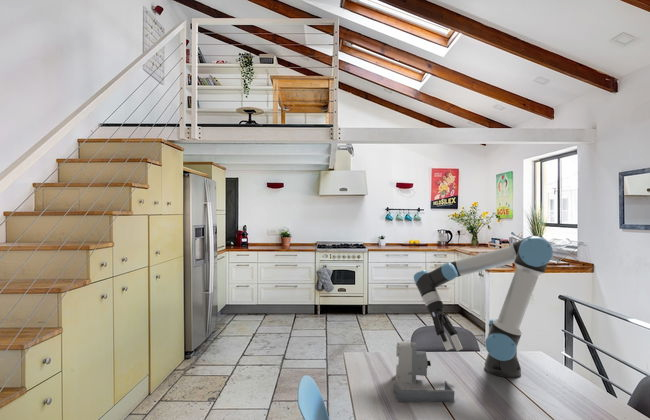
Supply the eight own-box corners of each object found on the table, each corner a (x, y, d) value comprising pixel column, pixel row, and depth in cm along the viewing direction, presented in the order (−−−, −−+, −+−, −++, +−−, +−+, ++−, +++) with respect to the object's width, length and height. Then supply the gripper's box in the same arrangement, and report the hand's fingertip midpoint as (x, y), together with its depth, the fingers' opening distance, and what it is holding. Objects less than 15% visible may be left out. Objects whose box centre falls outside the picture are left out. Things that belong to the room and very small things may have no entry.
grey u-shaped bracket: (446, 390, 151) (446, 380, 151) (454, 402, 142) (454, 391, 142) (392, 390, 151) (392, 380, 151) (397, 401, 142) (397, 391, 142)
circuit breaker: (430, 385, 156) (431, 349, 156) (396, 382, 159) (396, 346, 159) (429, 378, 163) (429, 343, 164) (396, 374, 166) (396, 340, 166)
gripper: (436, 309, 182) (456, 352, 171) (415, 304, 163) (436, 352, 152) (449, 302, 179) (471, 346, 168) (430, 296, 160) (453, 345, 149)
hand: (455, 349), depth 160 cm, fingers open, 13 cm apart
